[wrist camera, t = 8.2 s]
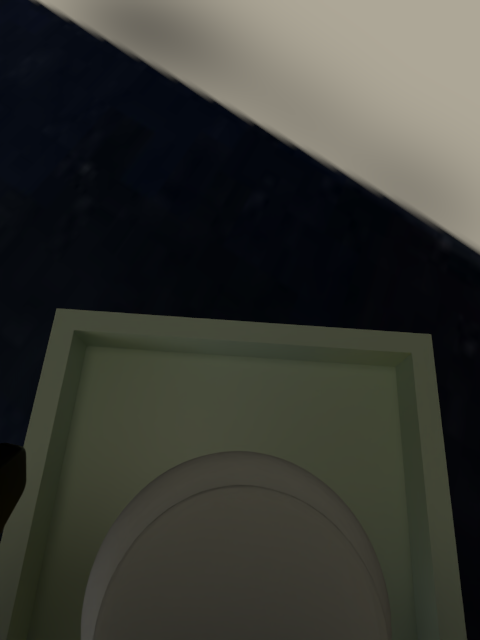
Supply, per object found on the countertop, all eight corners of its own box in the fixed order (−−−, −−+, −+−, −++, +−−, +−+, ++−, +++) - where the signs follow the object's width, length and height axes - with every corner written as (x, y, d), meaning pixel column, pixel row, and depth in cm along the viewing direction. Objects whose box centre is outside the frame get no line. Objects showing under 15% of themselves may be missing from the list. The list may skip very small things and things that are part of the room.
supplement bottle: (189, 452, 17) (147, 372, 7) (333, 515, 16) (493, 515, 7) (115, 620, 15) (-76, 813, 5) (278, 699, 14) (401, 1085, 4)
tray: (454, 885, 13) (505, 964, 11) (-38, 860, 13) (-94, 935, 10) (406, 355, 19) (431, 334, 17) (76, 333, 19) (56, 308, 17)
